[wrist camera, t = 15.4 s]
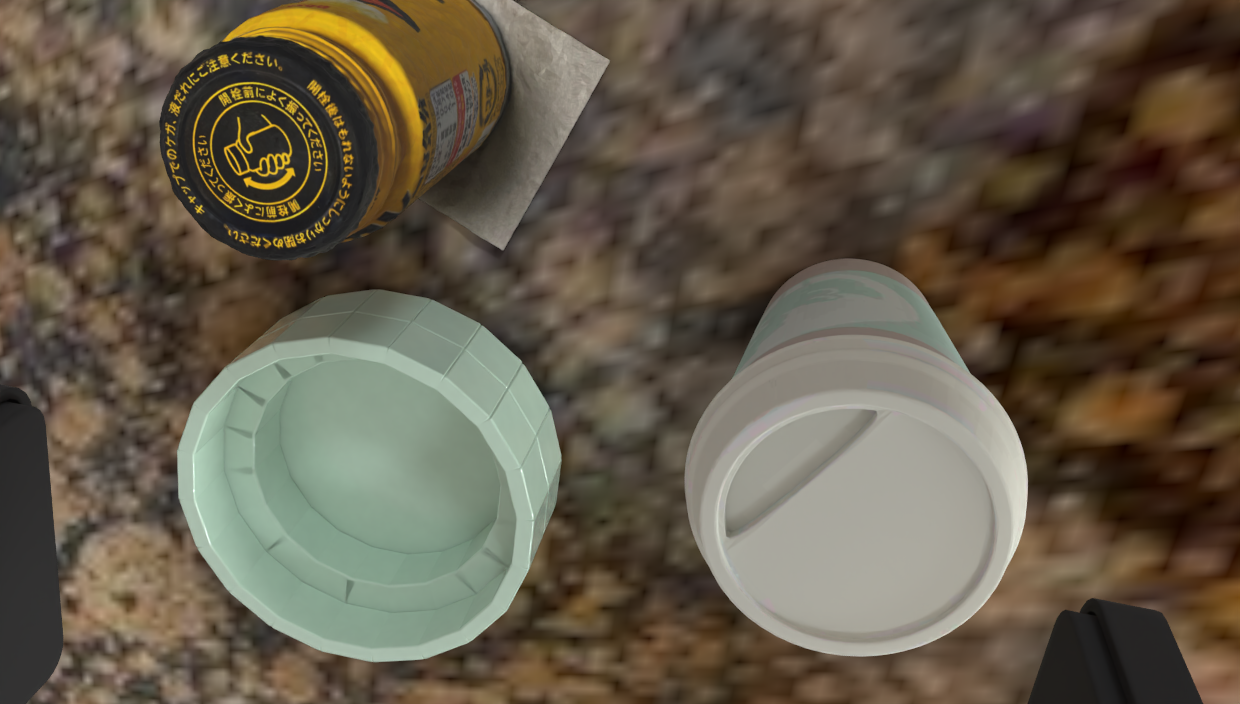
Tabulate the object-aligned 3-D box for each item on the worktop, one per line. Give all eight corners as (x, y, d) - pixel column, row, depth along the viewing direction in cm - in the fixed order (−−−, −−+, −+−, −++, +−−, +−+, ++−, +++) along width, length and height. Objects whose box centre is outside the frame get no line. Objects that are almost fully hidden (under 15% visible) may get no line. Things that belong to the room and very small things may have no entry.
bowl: (243, 257, 42) (172, 307, 37) (581, 318, 40) (550, 378, 36) (244, 547, 47) (181, 622, 42) (546, 608, 45) (514, 693, 41)
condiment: (374, -87, 36) (179, -59, 25) (611, 60, 37) (519, 148, 26) (285, 115, 39) (77, 217, 28) (505, 247, 40) (384, 397, 29)
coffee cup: (955, 189, 37) (1008, 333, 26) (1000, 431, 40) (1065, 652, 29) (689, 248, 39) (636, 404, 28) (750, 474, 42) (723, 694, 31)
